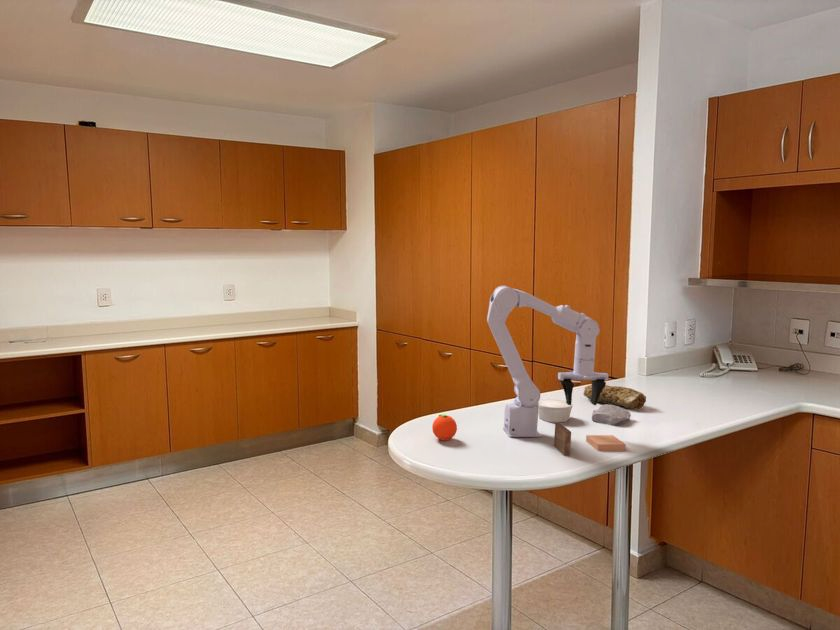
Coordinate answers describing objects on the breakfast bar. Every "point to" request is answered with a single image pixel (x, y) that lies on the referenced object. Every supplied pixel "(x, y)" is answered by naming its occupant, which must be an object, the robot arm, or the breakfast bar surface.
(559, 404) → the ramekin
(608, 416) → the stone block
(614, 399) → the mossy brown rock
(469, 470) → the breakfast bar surface
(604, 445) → the terracotta tile
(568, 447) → the brown wooden block
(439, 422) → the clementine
